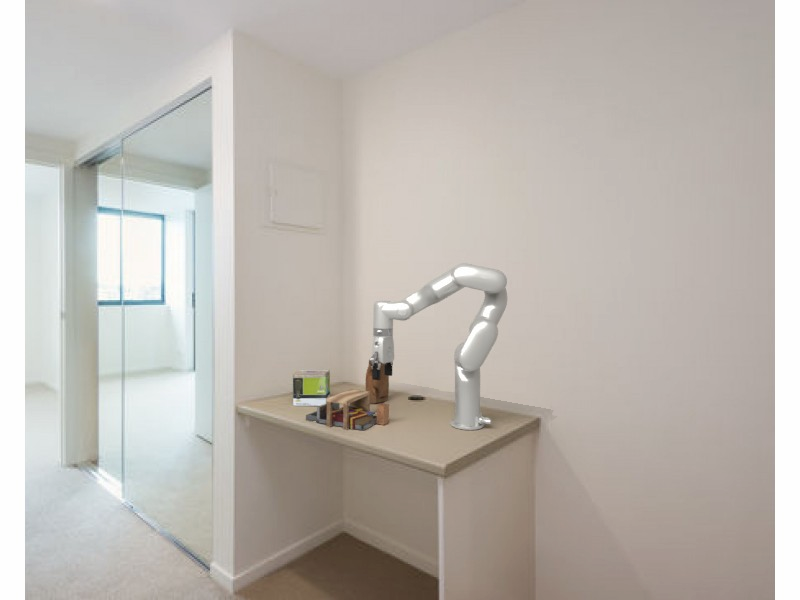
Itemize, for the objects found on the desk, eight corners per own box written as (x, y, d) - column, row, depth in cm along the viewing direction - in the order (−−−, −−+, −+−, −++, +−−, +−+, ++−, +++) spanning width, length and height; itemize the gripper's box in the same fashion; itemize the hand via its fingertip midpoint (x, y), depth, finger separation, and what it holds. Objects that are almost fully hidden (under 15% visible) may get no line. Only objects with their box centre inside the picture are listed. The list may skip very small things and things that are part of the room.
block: (378, 398, 203) (378, 356, 202) (390, 400, 198) (390, 358, 198) (363, 402, 194) (363, 359, 194) (375, 405, 189) (375, 360, 189)
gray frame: (334, 415, 174) (334, 410, 174) (318, 422, 164) (318, 417, 164) (322, 413, 176) (322, 408, 176) (305, 420, 167) (305, 415, 167)
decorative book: (353, 431, 155) (353, 417, 155) (325, 422, 165) (325, 409, 165) (375, 423, 163) (375, 410, 163) (346, 416, 174) (346, 403, 174)
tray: (389, 421, 164) (389, 403, 164) (372, 431, 152) (372, 412, 152) (337, 413, 175) (337, 396, 175) (316, 422, 163) (316, 404, 163)
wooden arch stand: (369, 417, 170) (369, 391, 170) (346, 429, 155) (347, 401, 155) (350, 415, 174) (350, 389, 174) (326, 426, 159) (326, 398, 159)
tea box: (330, 401, 197) (330, 369, 197) (326, 406, 187) (326, 373, 187) (298, 400, 198) (298, 369, 198) (292, 406, 188) (292, 373, 187)
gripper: (380, 335, 153) (380, 382, 153) (401, 331, 168) (401, 374, 168) (363, 334, 156) (362, 380, 156) (384, 330, 172) (384, 373, 172)
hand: (382, 377), depth 162 cm, fingers open, 9 cm apart
